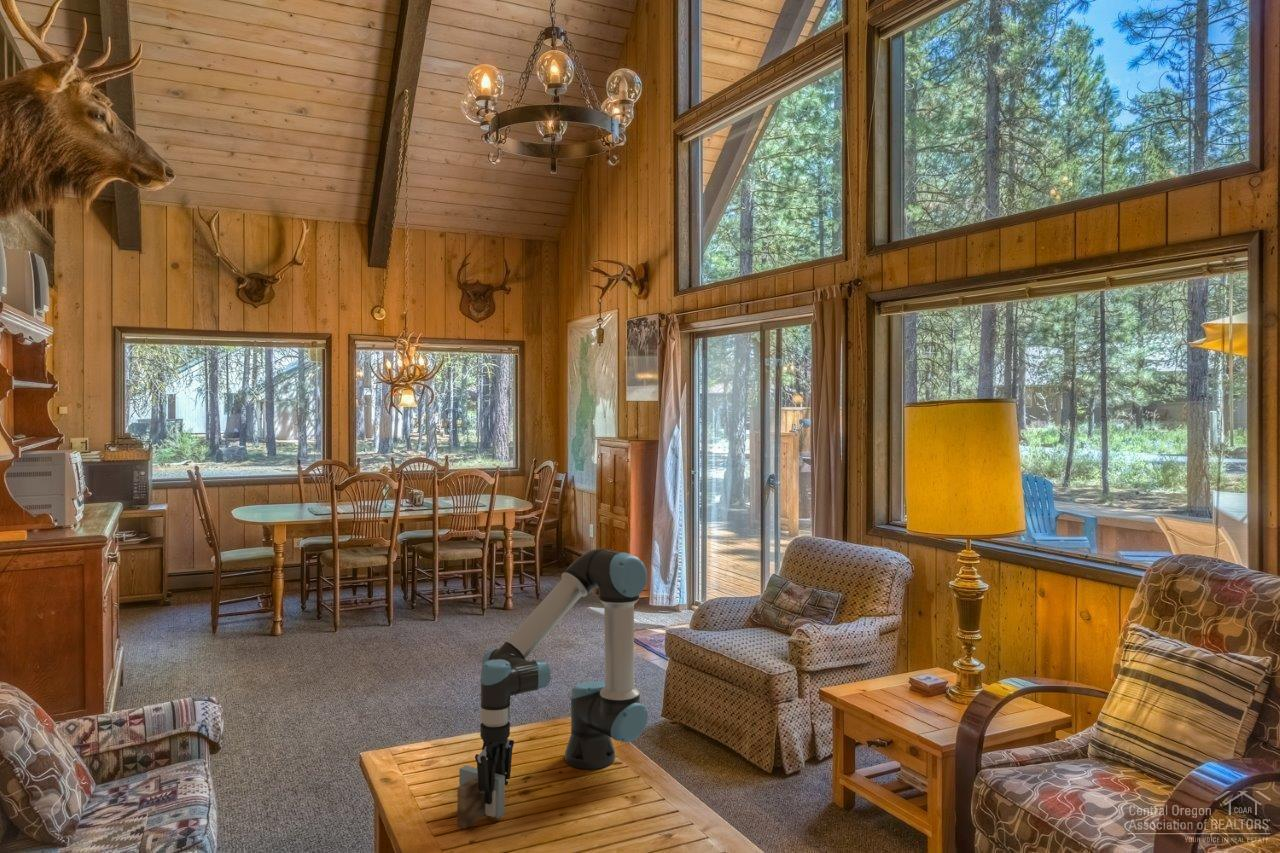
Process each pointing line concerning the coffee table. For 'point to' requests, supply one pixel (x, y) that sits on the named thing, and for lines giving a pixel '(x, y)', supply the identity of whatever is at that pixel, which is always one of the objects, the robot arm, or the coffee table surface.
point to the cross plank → (499, 786)
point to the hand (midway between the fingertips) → (494, 812)
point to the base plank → (470, 804)
